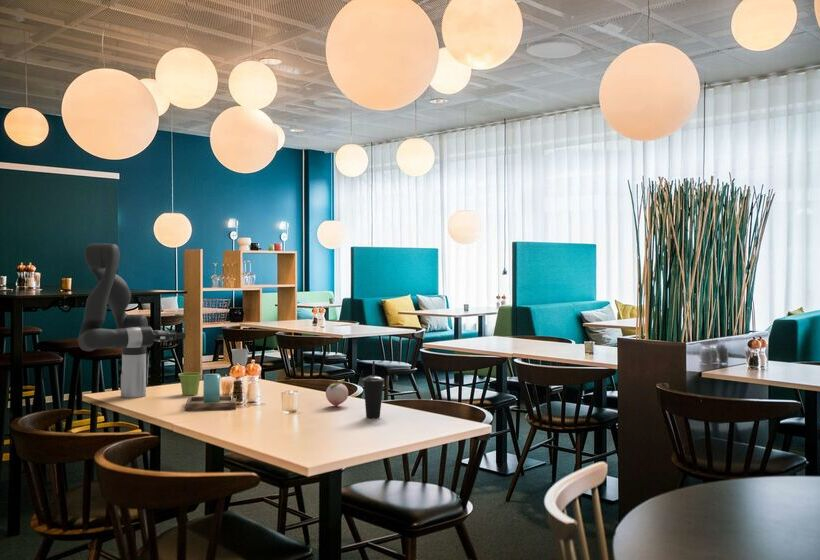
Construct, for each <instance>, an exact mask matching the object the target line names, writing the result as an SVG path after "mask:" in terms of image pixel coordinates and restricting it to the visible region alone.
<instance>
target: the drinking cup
mask: <svg viewBox="0 0 820 560" xmlns="http://www.w3.org/2000/svg"><path fill="white" fill-rule="evenodd" d="M375 363H376V362H375V361H374V360H373V361H372V375H368V376H366V377H365V378H362V381H363V391H364V404H365V407H364V408H365V417H366V418H367V419H372V418H374V419H380V418H381V409H382V398H383V390H384V381H385V378H383V377H381V376H378V375H375V365H376V364H375ZM379 417H380V418H379Z"/></svg>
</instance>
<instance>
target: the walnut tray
mask: <svg viewBox="0 0 820 560" xmlns="http://www.w3.org/2000/svg"><path fill="white" fill-rule="evenodd" d="M231 396H232V395H220V402H219V403H203V396H202V395H200V396H188V397H187V400H186V401H185V402H186V403H185V411H220V410H221V411H223V410H236V409H237V408H236V407H237V397H236V398H234V397H233V402H232V401H231Z"/></svg>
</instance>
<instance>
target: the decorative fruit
mask: <svg viewBox="0 0 820 560" xmlns="http://www.w3.org/2000/svg"><path fill="white" fill-rule="evenodd" d="M325 397H326V399H327V401H328V402H329V404H330V405H333V406H334V407H338V406H340V405H342V404H343V403H344V402H346V400H347V399H348V397H349V390H348V388H347V386H346V385H345V384H343V383H342V382H338V380H336V381H335V383H330V385H329V386H328V387H326V391H325Z"/></svg>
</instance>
